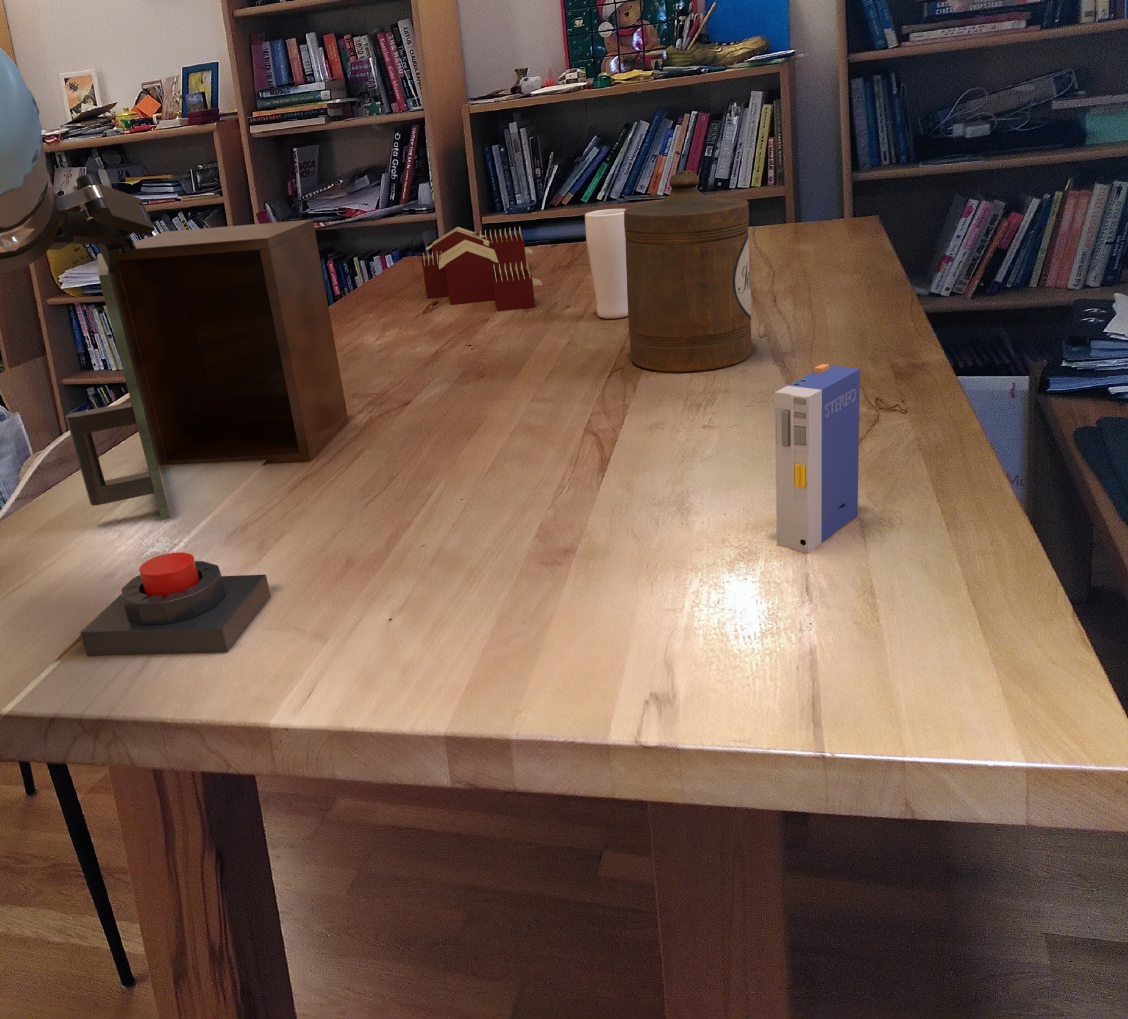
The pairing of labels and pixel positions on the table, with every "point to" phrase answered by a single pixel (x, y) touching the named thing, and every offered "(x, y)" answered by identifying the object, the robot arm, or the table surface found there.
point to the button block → (178, 616)
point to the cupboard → (233, 343)
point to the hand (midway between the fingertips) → (23, 283)
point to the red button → (169, 574)
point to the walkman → (816, 456)
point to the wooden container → (688, 280)
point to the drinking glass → (608, 261)
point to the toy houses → (480, 269)
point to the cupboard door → (117, 424)
